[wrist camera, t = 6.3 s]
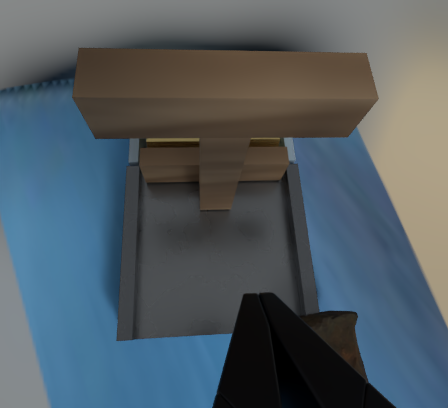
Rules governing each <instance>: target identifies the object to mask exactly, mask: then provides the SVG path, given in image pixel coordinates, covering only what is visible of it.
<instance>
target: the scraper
mask: <svg viewBox="0 0 448 408" xmlns="http://www.w3.org/2000/svg"><path fill="white" fill-rule="evenodd" d="M72 98H73V100H74V101H75V103H76V105H77V107H78V108H79V110H80V112H81V114H82V116H83V117H84V119H85V121H86V123H87V124H88V126H89V128H90V130H91V131H92V133H93V135H94V137H95V139H145V138H199V147H186V148H140V163H139V166H140V169H141V171H142V174H143V177H144V179H145V182H146V183H149V182H199V193H200V210H218V209H231V207H232V203H233V200H234V196H235V193H236V189H237V186H238V182H239V181H262V180H280V179H281V178H282V176H283V174H284V172H285V171H286V169H287V167H288V166H289V157H288V150H287V147H249V143H250V140H251V138H316V137H348V136H349V135H350V134H351V133H352V131H353V130H354V129H355V128H356V126H357V125H358V124H359V123H360V121H361V120H362V119H363V117H364V116H365V115H366V114H367V112H369V110H370V109H371V108H372V107H373V105H374V104H375V103H376V102H377V100H378V95H377V91H376V87H375V83H374V80H373V76H372V72H371V69H370V64H369V61H368V57H367V53H333V52H332V53H331V52H277V51H275V52H274V51H222V50H167V49H163V50H162V49H111V48H79V51H78V58H77V67H76V74H75V81H74V88H73V96H72Z"/></svg>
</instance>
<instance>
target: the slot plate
mask: <svg viewBox="0 0 448 408" xmlns="http://www.w3.org/2000/svg"><path fill="white" fill-rule="evenodd" d="M263 292H273V293H274V294H276V295H277V296H278V297H279V298H280V299H281V300H282V301H283V302H284V303H285V304H286V305H287V306H288V307H289V308H290V309H291V310H293V311H294V312H295V313H296V314H297V315H298V316H301V315H305V316H307V315H309V314H314V313H319V306H318V299H317V292H316V285H315V278H314V272H313V265H312V258H311V251H310V244H309V238H308V231H307V224H306V217H305V210H304V203H303V197H302V190H301V183H300V176H299V169H298V164H289V166H288V167H287V169H286V171H285V172H284V174H283V176H282V178H281V179H280V180H262V181H239V182H238V186H237V189H236V193H235V196H234V200H233V203H232V207H231V209H218V210H200V193H199V182H149V183H146V182H145V179H144V177H143V174H142V171H141V169H140V166H127V169H126V187H125V204H124V221H123V239H122V256H121V273H120V290H119V308H118V325H117V341H125V340H134V339H145V338H162V337H179V336H196V335H212V334H229V333H233V330H234V326H235V322H236V319H237V315H238V311H239V308H240V304H241V300H242V297H243V294H245V293H257V294H259V293H263Z"/></svg>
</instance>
